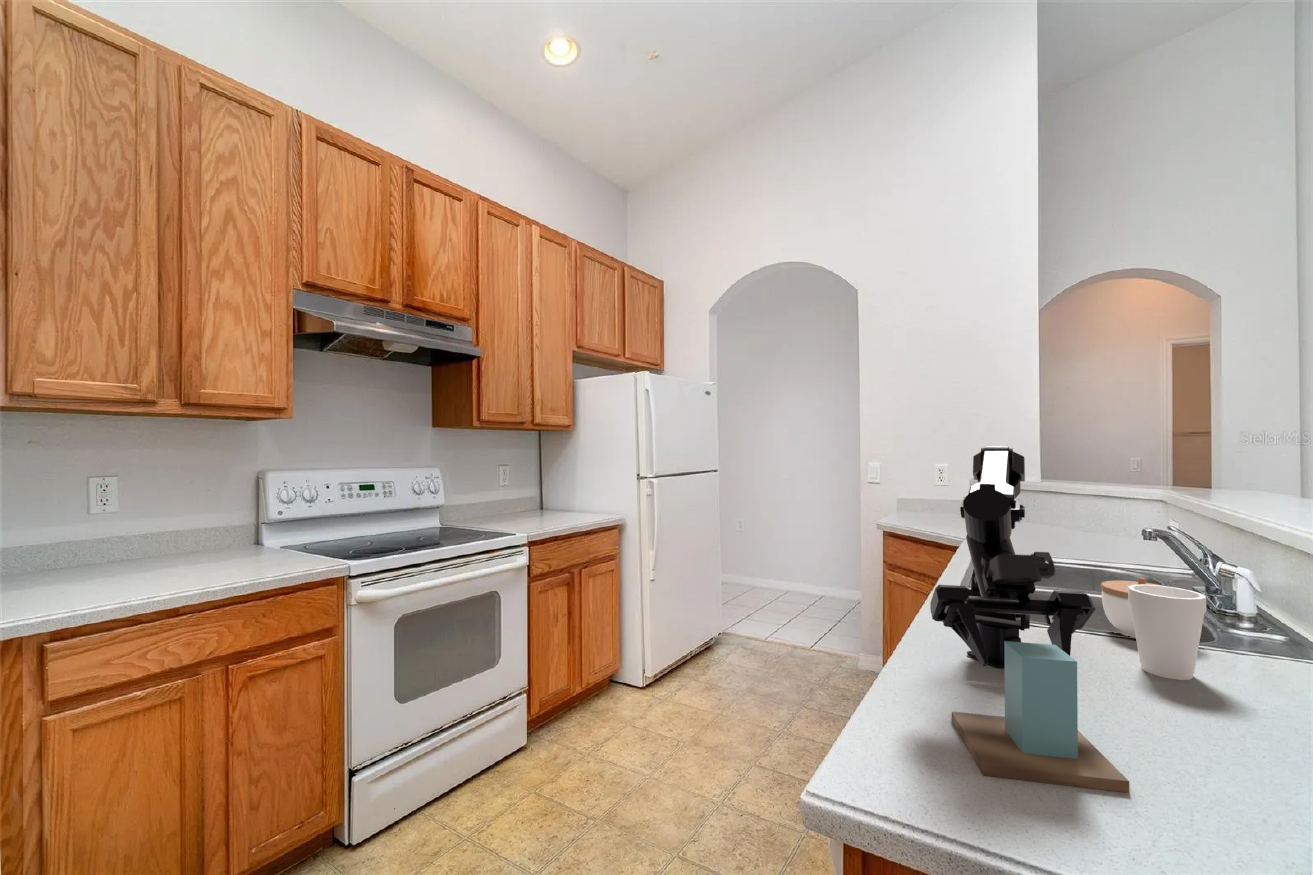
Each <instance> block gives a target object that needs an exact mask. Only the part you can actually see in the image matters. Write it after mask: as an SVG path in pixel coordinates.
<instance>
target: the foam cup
mask: <svg viewBox="0 0 1313 875" xmlns="http://www.w3.org/2000/svg"><path fill="white" fill-rule="evenodd" d="M1160 585H1161V584H1157V585H1145V584H1142V585H1131V586H1128V601H1129V602H1130V605H1131V611H1132V617H1133V623H1134V629H1135V635H1136V646H1137V653H1138V658H1139V663H1140V668H1141V669H1142V670H1143V671H1145V672H1147V674H1151V675H1154V676H1157V677H1161V678H1165V679H1169V680H1179V681H1188V680H1189V681H1190V680H1192V679H1194V674H1195V670H1196V665H1197V658H1198V653H1199V648H1200V641H1201V640H1200V639H1201V635H1202V628H1203V624H1204V619H1205V613H1207V596H1206V595H1205V594H1203V593H1200V592H1197V591H1194V590H1190V589H1185V588H1179V587H1174V586H1166V585H1163V586H1160Z"/></svg>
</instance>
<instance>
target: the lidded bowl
mask: <svg viewBox="0 0 1313 875" xmlns="http://www.w3.org/2000/svg"><path fill="white" fill-rule="evenodd" d="M1142 584H1145V585H1158V584H1157V583H1152V582H1147V578H1145V577H1137V581H1132V580H1106V581H1102V582H1101V583H1100V589H1101V603H1102V607H1103V612H1104V614H1105V616H1106V618H1107V619H1108V621H1109V622H1110V624H1112V626H1113V627H1114V628H1116V629H1117V630H1118V633H1119V634H1121V635H1122V636H1125V637H1128V636H1130V637H1129V638H1132V639H1136V635H1135V629H1134V623H1133V617H1132V611H1131V605H1130V602H1129V601H1128V586H1131V585H1142ZM1159 585H1160V586H1164V585H1162V584H1159Z"/></svg>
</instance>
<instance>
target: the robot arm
mask: <svg viewBox="0 0 1313 875" xmlns="http://www.w3.org/2000/svg"><path fill="white" fill-rule="evenodd" d="M972 458H973V459H972V460H973V461H972V475H973V480H974V481H977V483H975V484H974V483H973V484H971V485H970V486H969V489H968V494H967V495H966V496H964V497H963V499H962V502H961V504H960V507H959V509H960V517H961V519H964V522H965V530H966V535H965V538H966V543H967V546H968V551H969V555H970V558H971V559H970V560H971V562H972V567H973V569H972V575H971V583H970V584H971V586H966V585H957V584H956V585H954V584H938V585H937V586H936V587H935V588H934V591H933V594H932V597H931V600H930V603H929V604H930V606H929V607H930V609H929V610H930V614H931V619H932V620H933V621H934V622H942V625H943V627H946V628H951V629H952V631H953V632H954V633H955V634H956V635H957V636H959V638H960V639H961V640H962V641H963V642H964V643H965V644H966V646H967V647H968V648H969V650H968V651H966V655H967V656H970V657H972V658H974V659H976V660H978V662H979V663H980V664H981V665H982V666H983V667H986V666H988V665H991V666H992V667H995V668H1005V646H1004V641H1010V642H1022V638H1021V637H1020V630H1021V631H1024V632H1025V630H1028V629H1029V630H1030V628H1031V623H1030V622H1031V621H1030V619H1031V618H1030V615H1032V616H1044V619H1045V622H1046V624H1047V625H1049V627H1048V628H1047V629H1046V631H1047V635H1048V637H1049V640H1050V642H1051V643H1050V644H1052V645H1056V646H1057V647H1059V648H1060V649H1061V650H1063V651H1064V652H1065V653H1067V654H1068V655H1069V656H1071V648H1072V636H1073V634H1074V633H1075V632H1076V630H1080V629H1083V627H1084V626H1085V625H1086V624H1087V622H1088V620H1090V618H1091V616H1092V615H1093V613H1094V612H1095V611H1096V606H1095V604H1094V602H1093V600H1092V597H1090V595H1089V594H1087V593H1086V592H1084V591H1075V590H1053V591H1052V593H1051V595H1050V596H1049V598H1048V599H1047V600H1046V599H1045V600H1043V599H1031V598H1030V594H1032V595H1033V594H1034V593H1035V591H1036V585H1035V583H1037V582H1038V583H1040V582H1042V579H1050V578H1052V577H1054V576H1055V574H1056V568H1055V563H1054V560H1053V558H1052V556H1051V553H1050V551H1034V552H1033V553H1031V554H1016V553H1015V550H1014V545H1013V542H1012V540H1011V536H1012V530H1014V529H1015V528H1016V523H1021V521H1023V518H1025V516H1026V512H1025V511H1026V507H1025V506H1024V505H1023V504H1022V503H1023V502H1021V499H1020V498H1019V499H1017V498H1018V496H1019V495H1020V494H1021V486H1022V485H1021V482H1025V481H1026V472H1025V471H1026V468H1025V467H1026V466H1025V464H1026V462H1025V459H1026V458H1025V456H1024V455H1022V454H1020V453H1017V452H1016V451H1014V448H1013V447H1010V446H1007V445H985V446H984V447H982V446H981V448H980V452H978V453H977V454H975V455H973V456H972Z"/></svg>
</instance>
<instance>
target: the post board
mask: <svg viewBox="0 0 1313 875" xmlns="http://www.w3.org/2000/svg"><path fill="white" fill-rule="evenodd" d="M951 722H952V723H953V725H954V727H955V729H956V731H957V732H958V734H959V736H960V737H961V739H962V741H963V743H964V744H965V746H966V748H967V750H968V751H969V754H970V755H971V756H972V758H973V760H974V762H975V763H976V765H977V767H978V769H979V770H980V772H981V774H982V776H987V777H994V778H995V777H997V778H1004V779H1013V780H1020V781H1021V780H1022V781H1030V782H1036V783H1043V784H1044V783H1047V784H1053V785H1055V784H1056V785H1062V786H1070V787H1078V788H1079V787H1080V788H1087V789H1095V790H1104V791H1112V792H1118V793H1119V792H1121V793H1128V794H1129V793H1130V780H1128V779H1127V777H1125V775H1123V773H1121V771H1120V770H1119V769H1117V767H1116V766H1115V765H1114V764H1113V763H1112V762H1110V760H1108V758H1107V757H1106V756H1104V755H1103V753H1102V752H1101V751H1099V749H1098V748H1096V746H1094V744H1093V743H1092V742H1091V741H1089V739H1088V738H1087V737H1086V736H1085V735H1083V733H1082V732H1081V731H1079V730H1078V759H1072V758H1063V757H1054V756H1045V755H1036V754H1027V753H1022V752H1021V750H1020V749H1019V748H1018V746H1017V745H1016V744H1015V742H1014V741H1013V740H1012V738H1011V737H1010V736H1009V734H1008V733H1007V732H1006V730H1005V716H1002V715H1001V716H1000V715H992V714H991V715H989V714H981V713H969V712H961V711H951Z"/></svg>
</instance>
